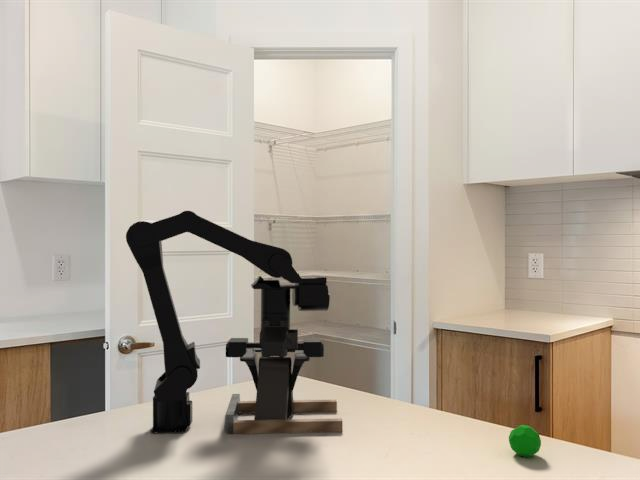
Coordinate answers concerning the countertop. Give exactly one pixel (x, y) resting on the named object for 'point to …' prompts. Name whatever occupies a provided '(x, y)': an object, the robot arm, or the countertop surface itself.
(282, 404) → the phone stand
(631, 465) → the countertop surface
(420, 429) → the countertop surface
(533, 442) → the polyhedron
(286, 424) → the guide track
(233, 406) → the end stop
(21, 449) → the countertop surface
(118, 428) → the countertop surface
